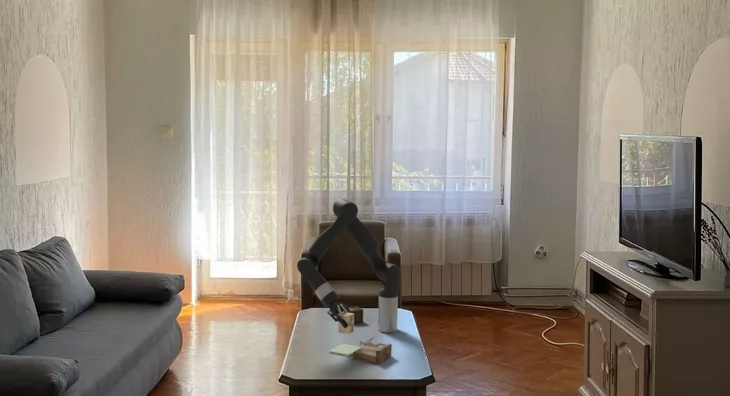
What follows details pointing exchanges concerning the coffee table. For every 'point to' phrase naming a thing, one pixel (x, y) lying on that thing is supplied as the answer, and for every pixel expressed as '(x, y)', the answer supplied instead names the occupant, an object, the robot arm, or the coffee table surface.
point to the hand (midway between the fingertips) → (349, 325)
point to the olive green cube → (357, 314)
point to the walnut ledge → (373, 353)
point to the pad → (344, 350)
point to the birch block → (349, 320)
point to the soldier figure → (371, 343)
